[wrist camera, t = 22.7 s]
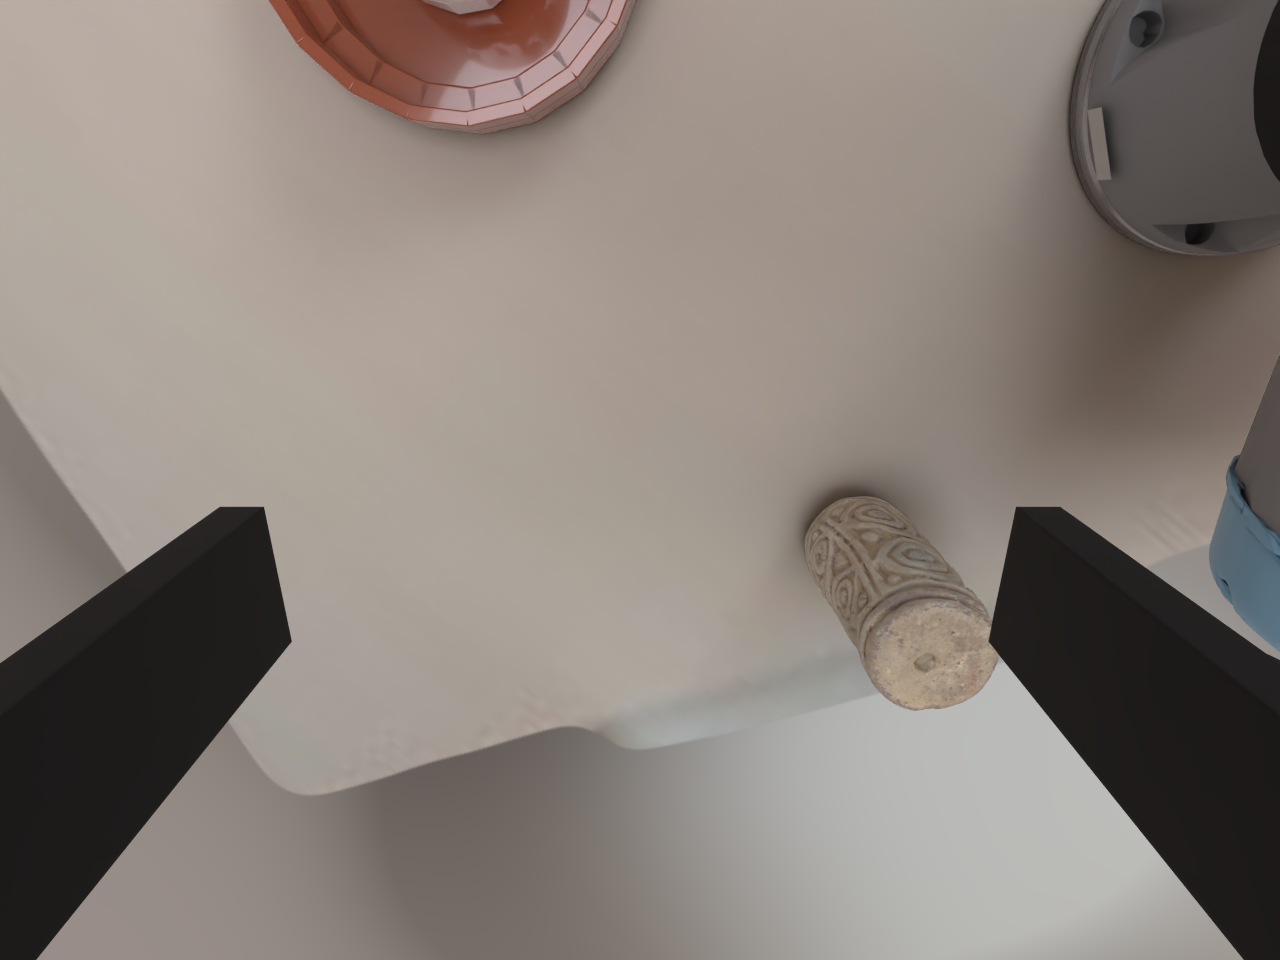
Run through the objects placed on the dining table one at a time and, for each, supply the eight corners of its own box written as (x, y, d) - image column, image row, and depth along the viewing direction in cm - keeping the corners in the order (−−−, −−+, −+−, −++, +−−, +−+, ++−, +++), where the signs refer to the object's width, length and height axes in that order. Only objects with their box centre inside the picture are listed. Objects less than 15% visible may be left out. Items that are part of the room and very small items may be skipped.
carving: (857, 610, 44) (933, 750, 32) (772, 536, 42) (821, 657, 31) (937, 542, 42) (1047, 663, 31) (852, 461, 40) (936, 560, 29)
